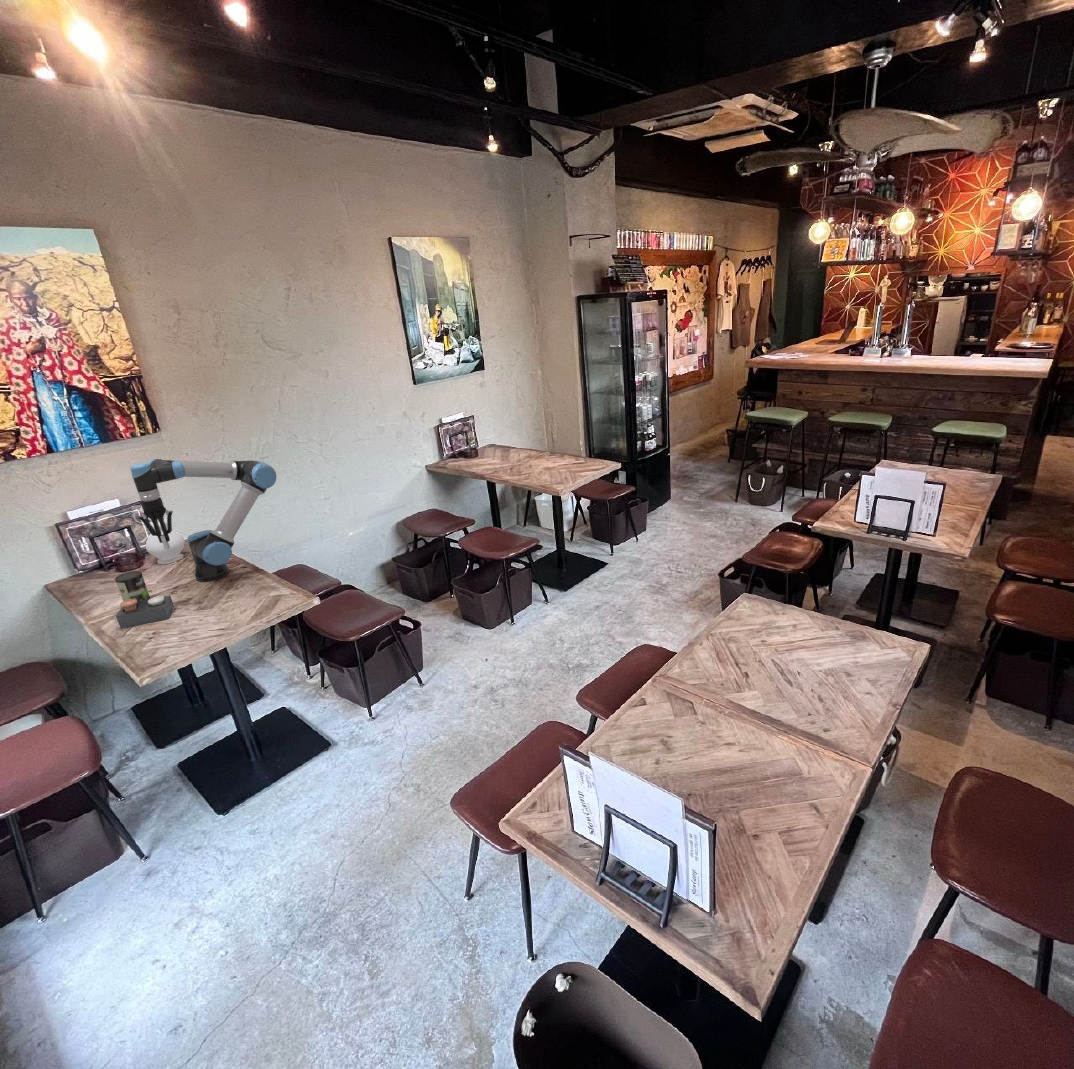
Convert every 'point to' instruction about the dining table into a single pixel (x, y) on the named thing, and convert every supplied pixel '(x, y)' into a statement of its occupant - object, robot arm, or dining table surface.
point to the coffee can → (132, 586)
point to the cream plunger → (156, 600)
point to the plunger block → (145, 613)
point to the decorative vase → (158, 549)
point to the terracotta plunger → (129, 604)
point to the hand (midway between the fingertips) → (167, 548)
